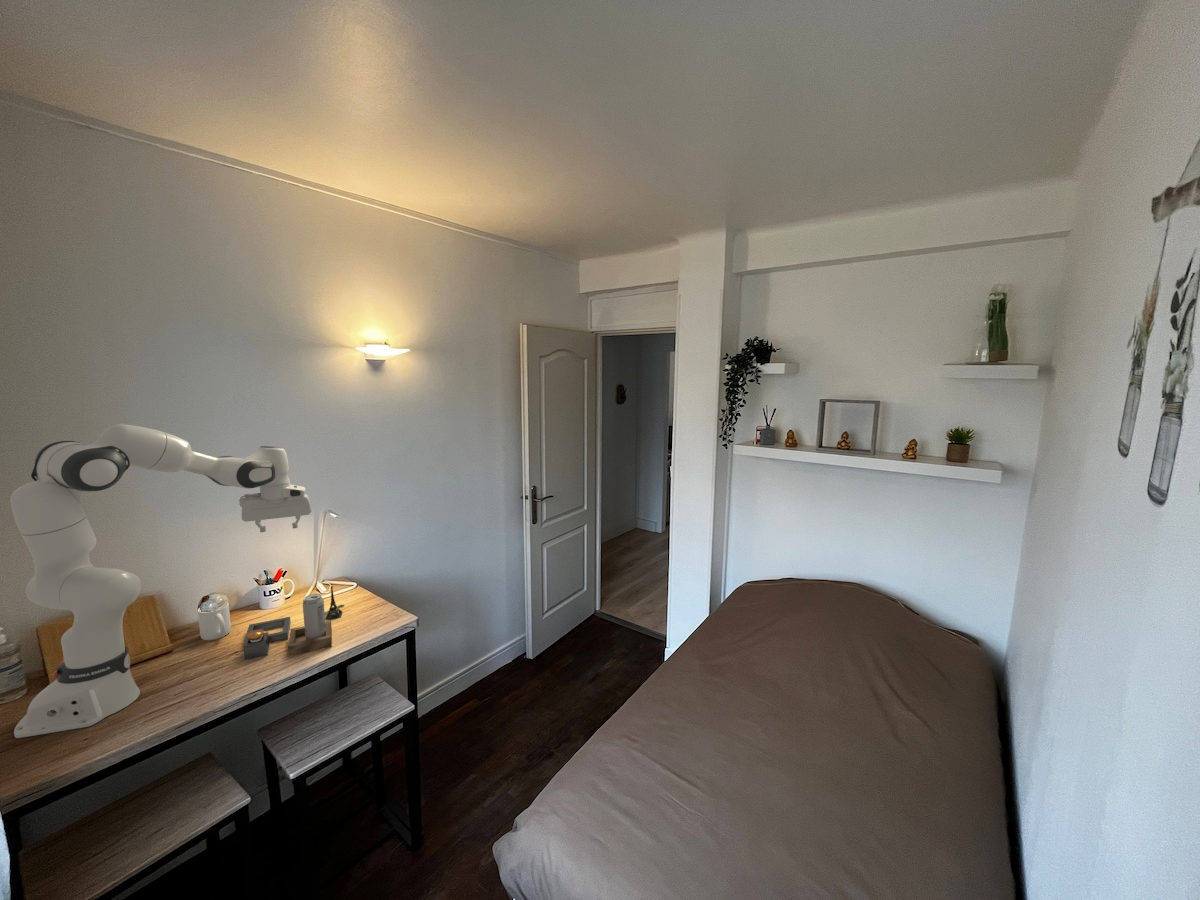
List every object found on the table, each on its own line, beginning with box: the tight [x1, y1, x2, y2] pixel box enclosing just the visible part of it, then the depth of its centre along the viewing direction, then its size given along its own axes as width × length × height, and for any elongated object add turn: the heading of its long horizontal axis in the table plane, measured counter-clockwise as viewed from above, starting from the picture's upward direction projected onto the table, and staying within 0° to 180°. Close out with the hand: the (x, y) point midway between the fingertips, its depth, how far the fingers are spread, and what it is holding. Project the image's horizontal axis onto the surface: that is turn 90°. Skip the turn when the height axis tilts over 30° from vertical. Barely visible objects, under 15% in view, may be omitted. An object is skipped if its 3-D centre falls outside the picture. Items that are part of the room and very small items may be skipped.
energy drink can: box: [302, 593, 326, 640], centre depth 159 cm, size 6×6×15 cm
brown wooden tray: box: [287, 620, 333, 658], centre depth 159 cm, size 12×12×4 cm
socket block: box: [242, 616, 292, 661], centre depth 159 cm, size 12×20×5 cm, turn 29°
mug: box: [197, 600, 232, 641], centre depth 161 cm, size 12×8×10 cm
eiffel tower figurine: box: [324, 584, 346, 622], centre depth 176 cm, size 15×10×13 cm
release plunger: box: [247, 629, 265, 643], centre depth 152 cm, size 4×4×6 cm
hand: (279, 529), depth 166 cm, fingers open, 8 cm apart
